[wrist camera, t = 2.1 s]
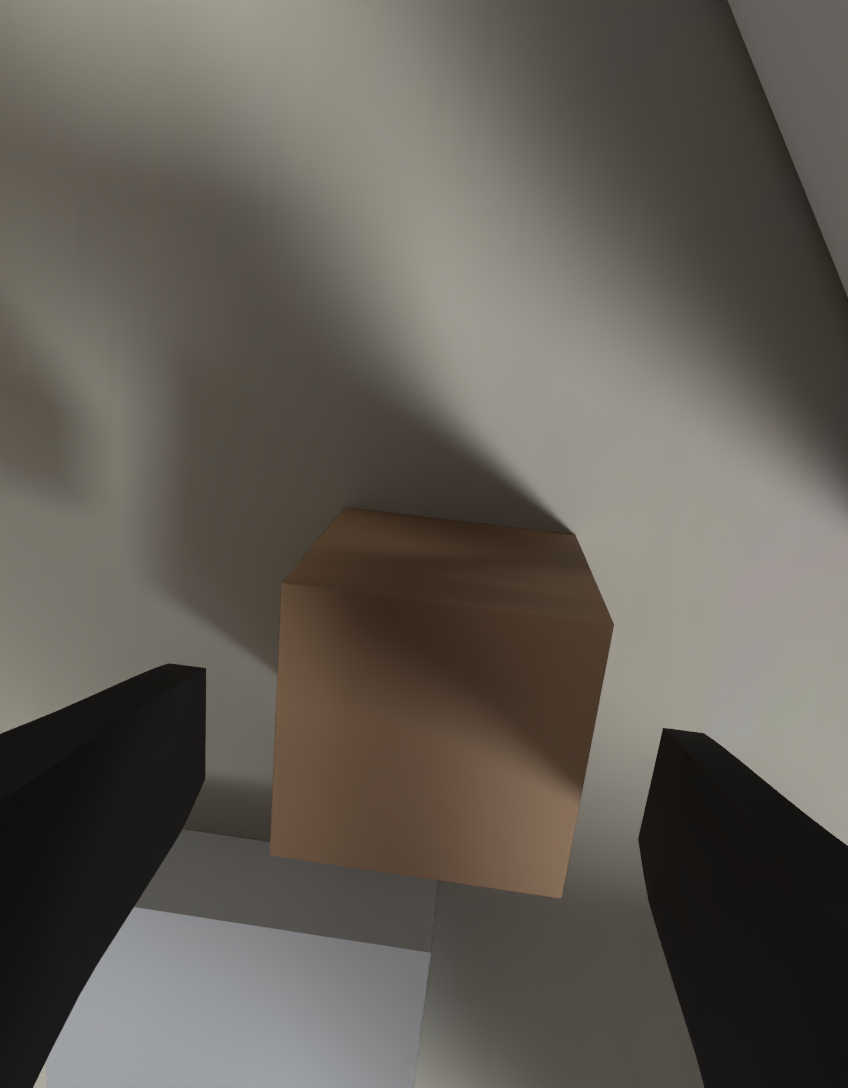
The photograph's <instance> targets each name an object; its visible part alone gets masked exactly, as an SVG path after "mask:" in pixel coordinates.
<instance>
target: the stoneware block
mask: <svg viewBox="0 0 848 1088" xmlns="http://www.w3.org/2000/svg"><path fill="white" fill-rule="evenodd" d="M437 884H438V880H432V879H425V878H419V877H412V876H405V875H398V874H391V873H385V872H378V871H371V870H364V869H357V868H351V867H344V866H337V865H330V864H324V863H317V862H310V861H303V860H296V859H290V858H283V857H276V856H270V842H266V841H259V840H253V839H246V838H239V837H233V836H226V835H219V834H212V833H206V832H199V831H192V830H185V829H182V831H181V833H180V835H179V836H178V838H177V840H176V841H175V843H174V844H173V846H172V848H171V849H170V851H169V853H168V854H167V856H166V857H165V859H164V861H163V862H162V864H161V865H160V867H159V869H158V870H157V872H156V873H155V875H154V877H153V878H152V880H151V881H150V883H149V884H148V886H147V888H146V889H145V891H144V892H143V894H142V895H141V897H140V899H139V900H138V902H137V903H136V905H135V906H134V908H133V910H132V911H131V913H130V914H129V916H128V917H127V919H126V920H125V922H124V924H123V925H122V927H121V928H120V930H119V931H118V933H117V935H116V936H115V938H114V939H113V941H112V942H111V944H110V946H109V947H108V949H107V950H106V952H105V953H104V955H103V957H102V958H101V960H100V961H99V963H98V965H97V966H96V968H95V970H94V971H93V973H92V975H91V977H90V978H89V980H88V982H87V983H86V985H85V987H84V989H83V990H82V992H81V994H80V996H79V997H78V999H77V1001H76V1003H75V1005H74V1007H73V1009H72V1011H71V1013H70V1015H69V1017H68V1019H67V1021H66V1023H65V1025H64V1027H63V1029H62V1031H61V1033H60V1035H59V1036H58V1038H57V1040H56V1042H55V1044H54V1046H53V1048H52V1050H51V1052H50V1054H49V1056H48V1058H47V1060H46V1075H47V1088H413V1086H414V1078H415V1071H416V1063H417V1056H418V1048H419V1040H420V1033H421V1025H422V1018H423V1010H424V1003H425V995H426V987H427V980H428V972H429V965H430V957H431V948H432V938H433V927H434V916H435V905H436V895H437Z"/></svg>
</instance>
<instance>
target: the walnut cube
mask: <svg viewBox="0 0 848 1088" xmlns="http://www.w3.org/2000/svg"><path fill="white" fill-rule="evenodd" d="M613 627H614V624H613V621H612V619H611V617H610V614H609V612H608V610H607V607H606V605H605V603H604V600H603V598H602V596H601V593H600V591H599V589H598V586H597V584H596V582H595V579H594V577H593V575H592V572H591V570H590V568H589V565H588V563H587V561H586V559H585V556H584V554H583V552H582V549H581V547H580V545H579V542H578V540H577V538H576V535H572V534H564V533H555V532H547V531H538V530H530V529H522V528H513V527H505V526H496V525H488V524H479V523H471V522H463V521H454V520H446V519H437V518H429V517H420V516H412V515H404V514H395V513H387V512H378V511H370V510H361V509H353V508H344V509H343V510H342V511H341V513H340V514H339V515H338V516H337V517H336V519H335V520H334V521H333V522H332V523H331V525H330V526H329V527H328V528H327V529H326V531H325V532H324V533H323V534H322V535H321V536H320V538H319V539H318V540H317V541H316V542H315V544H314V545H313V546H312V547H311V548H310V550H309V551H308V552H307V553H306V554H305V556H304V557H303V558H302V559H301V560H300V562H299V563H298V564H297V565H296V566H295V568H294V569H293V570H292V571H291V572H290V573H289V575H288V576H287V577H286V578H285V579H284V581H283V582H282V583H281V607H280V630H279V653H278V676H277V699H276V722H275V746H274V769H273V792H272V815H271V838H270V856H276V857H283V858H290V859H296V860H303V861H310V862H317V863H324V864H330V865H337V866H344V867H351V868H357V869H364V870H371V871H378V872H385V873H391V874H398V875H405V876H412V877H419V878H425V879H432V880H439V881H446V882H453V883H459V884H466V885H473V886H480V887H487V888H493V889H500V890H507V891H514V892H520V893H527V894H534V895H541V896H548V897H554V898H561V899H562V893H563V888H564V883H565V878H566V873H567V867H568V862H569V857H570V852H571V846H572V841H573V836H574V831H575V826H576V820H577V815H578V810H579V805H580V799H581V794H582V789H583V784H584V778H585V773H586V768H587V763H588V758H589V752H590V747H591V742H592V737H593V731H594V726H595V721H596V716H597V711H598V705H599V700H600V695H601V690H602V684H603V679H604V674H605V669H606V664H607V658H608V653H609V648H610V643H611V637H612V632H613Z"/></svg>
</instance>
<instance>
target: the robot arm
mask: <svg viewBox="0 0 848 1088" xmlns="http://www.w3.org/2000/svg"><path fill="white" fill-rule="evenodd" d="M205 739H206V668H200V667H192V666H185V665H177V664H166V665H163V666H160V667H157V668H154V669H152V670H149V671H147V672H144V673H142V674H139V675H137V676H135V677H133V678H130V679H128V680H126V681H123V682H121V683H119V684H117V685H115V686H112V687H110V688H108V689H106V690H103V691H101V692H99V693H97V694H94V695H92V696H90V697H88V698H85V699H83V700H81V701H79V702H77V703H74V704H72V705H70V706H68V707H65V708H63V709H61V710H58V711H56V712H54V713H51V714H49V715H46V716H44V717H41V718H39V719H36V720H34V721H31V722H29V723H26V724H24V725H21V726H19V727H16V728H14V729H11V730H9V731H7V732H4V733H2V734H0V1088H33V1086H34V1084H35V1082H36V1080H37V1078H38V1076H39V1074H40V1072H41V1070H42V1068H43V1066H44V1064H45V1062H46V1060H47V1058H48V1056H49V1054H50V1052H51V1050H52V1048H53V1046H54V1044H55V1042H56V1040H57V1038H58V1036H59V1035H60V1033H61V1031H62V1029H63V1027H64V1025H65V1023H66V1021H67V1019H68V1017H69V1015H70V1013H71V1011H72V1009H73V1007H74V1005H75V1003H76V1001H77V999H78V997H79V996H80V994H81V992H82V990H83V989H84V987H85V985H86V983H87V982H88V980H89V978H90V977H91V975H92V973H93V971H94V970H95V968H96V966H97V965H98V963H99V961H100V960H101V958H102V957H103V955H104V953H105V952H106V950H107V949H108V947H109V946H110V944H111V942H112V941H113V939H114V938H115V936H116V935H117V933H118V931H119V930H120V928H121V927H122V925H123V924H124V922H125V920H126V919H127V917H128V916H129V914H130V913H131V911H132V910H133V908H134V906H135V905H136V903H137V902H138V900H139V899H140V897H141V895H142V894H143V892H144V891H145V889H146V888H147V886H148V884H149V883H150V881H151V880H152V878H153V877H154V875H155V873H156V872H157V870H158V869H159V867H160V865H161V864H162V862H163V861H164V859H165V857H166V856H167V854H168V853H169V851H170V849H171V848H172V846H173V844H174V843H175V841H176V840H177V838H178V836H179V835H180V833H181V831H182V828H183V826H184V824H185V822H186V820H187V818H188V816H189V814H190V812H191V810H192V807H193V805H194V803H195V801H196V798H197V796H198V794H199V792H200V789H201V787H202V785H203V783H204V780H205ZM638 841H639V847H640V853H641V860H642V866H643V873H644V878H645V884H646V889H647V895H648V900H649V904H650V908H651V911H652V915H653V918H654V921H655V925H656V928H657V931H658V935H659V938H660V941H661V944H662V948H663V951H664V954H665V958H666V961H667V964H668V967H669V970H670V974H671V977H672V980H673V983H674V986H675V990H676V993H677V996H678V999H679V1003H680V1006H681V1009H682V1012H683V1015H684V1019H685V1022H686V1025H687V1028H688V1031H689V1035H690V1038H691V1041H692V1044H693V1048H694V1051H695V1054H696V1057H697V1061H698V1065H699V1069H700V1072H701V1076H702V1080H703V1084H704V1087H705V1088H848V846H847V845H846V844H844V843H843V842H842V841H840V840H839V839H838V838H836V837H835V836H833V835H832V834H831V833H830V832H828V831H827V830H826V829H824V828H823V827H822V826H820V825H819V824H818V823H816V822H815V821H814V820H813V819H811V818H810V817H809V816H807V815H806V814H805V813H804V812H802V811H801V810H800V809H799V808H797V807H796V806H795V805H794V804H792V803H791V802H790V801H789V800H787V799H786V798H785V797H784V796H782V795H781V794H780V793H779V792H778V791H776V790H775V789H774V788H773V787H771V786H770V785H769V784H768V783H767V782H765V781H764V780H763V779H762V778H760V777H759V776H758V775H757V774H756V773H754V772H753V771H752V770H751V769H749V768H748V767H747V766H746V765H745V764H743V763H742V762H741V761H740V760H739V759H737V758H736V757H735V756H734V755H732V754H731V753H730V752H729V751H727V750H726V749H725V748H723V747H722V746H721V745H720V744H718V743H717V742H716V741H714V740H713V739H711V738H710V737H708V736H707V735H705V734H704V733H697V732H690V731H682V730H674V729H667V728H663V731H662V736H661V740H660V745H659V749H658V753H657V758H656V762H655V767H654V771H653V776H652V780H651V785H650V789H649V793H648V798H647V802H646V807H645V811H644V816H643V820H642V825H641V829H640V834H639V838H638Z"/></svg>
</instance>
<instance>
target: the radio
mask: <svg viewBox="0 0 848 1088" xmlns="http://www.w3.org/2000/svg"><path fill="white" fill-rule="evenodd" d="M728 3H729V5H730V8H731V10H732V13H733V15H734V18H735V20H736V23H737V25H738V28H739V30H740V33H741V35H742V37H743V40H744V42H745V45H746V47H747V50H748V52H749V55H750V57H751V60H752V62H753V65H754V67H755V70H756V72H757V75H758V77H759V79H760V82H761V84H762V87H763V89H764V92H765V94H766V97H767V99H768V102H769V104H770V107H771V109H772V112H773V114H774V116H775V119H776V121H777V124H778V126H779V129H780V131H781V134H782V136H783V139H784V141H785V144H786V146H787V149H788V151H789V153H790V156H791V158H792V161H793V163H794V166H795V168H796V171H797V173H798V176H799V178H800V181H801V183H802V186H803V188H804V190H805V193H806V195H807V198H808V200H809V203H810V205H811V208H812V210H813V213H814V215H815V218H816V220H817V223H818V225H819V228H820V230H821V232H822V235H823V237H824V240H825V242H826V245H827V247H828V250H829V252H830V255H831V257H832V260H833V262H834V265H835V267H836V269H837V272H838V274H839V277H840V279H841V282H842V284H843V287H844V289H845V292H846V294H847V297H848V0H728Z"/></svg>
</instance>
